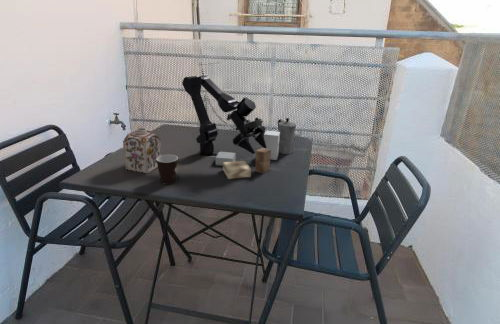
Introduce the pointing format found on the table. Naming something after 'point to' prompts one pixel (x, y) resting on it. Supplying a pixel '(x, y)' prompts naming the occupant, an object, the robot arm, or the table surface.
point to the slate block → (225, 157)
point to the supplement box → (272, 143)
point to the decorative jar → (141, 150)
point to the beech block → (236, 169)
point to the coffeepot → (286, 136)
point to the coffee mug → (167, 168)
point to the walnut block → (262, 160)
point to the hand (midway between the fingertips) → (260, 150)
